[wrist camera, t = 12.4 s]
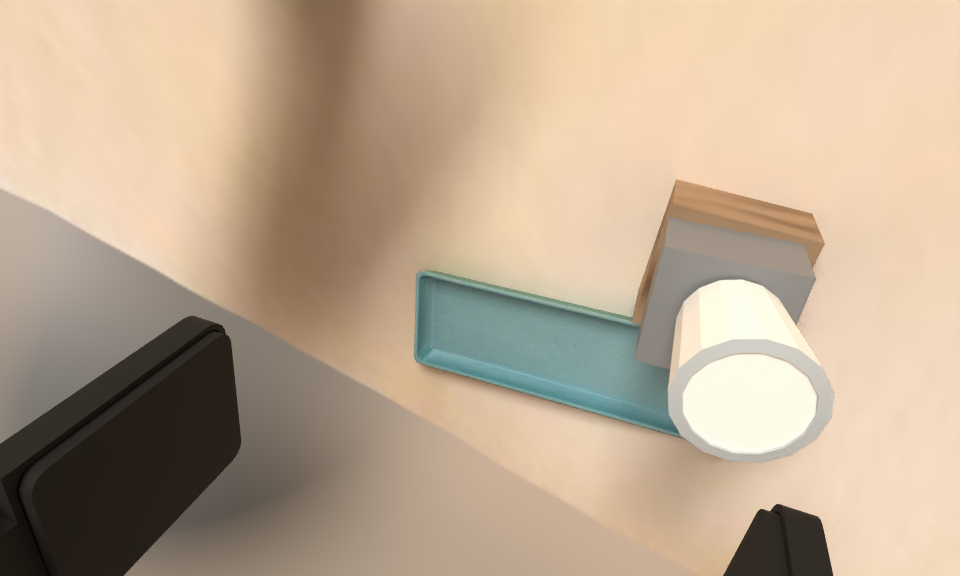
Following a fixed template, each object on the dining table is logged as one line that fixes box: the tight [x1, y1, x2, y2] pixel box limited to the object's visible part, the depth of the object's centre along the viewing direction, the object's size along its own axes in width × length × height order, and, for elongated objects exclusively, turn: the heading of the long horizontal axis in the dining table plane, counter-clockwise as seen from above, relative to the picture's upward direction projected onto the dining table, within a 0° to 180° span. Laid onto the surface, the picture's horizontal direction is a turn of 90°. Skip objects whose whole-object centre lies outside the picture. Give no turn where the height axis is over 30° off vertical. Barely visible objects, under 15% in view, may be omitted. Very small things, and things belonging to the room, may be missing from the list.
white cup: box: [668, 279, 834, 463], centre depth 30 cm, size 7×7×7 cm
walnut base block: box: [632, 179, 825, 325], centre depth 39 cm, size 8×8×5 cm
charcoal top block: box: [634, 217, 816, 369], centre depth 35 cm, size 8×8×4 cm
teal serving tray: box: [414, 271, 685, 439], centre depth 47 cm, size 26×9×2 cm, turn 84°
